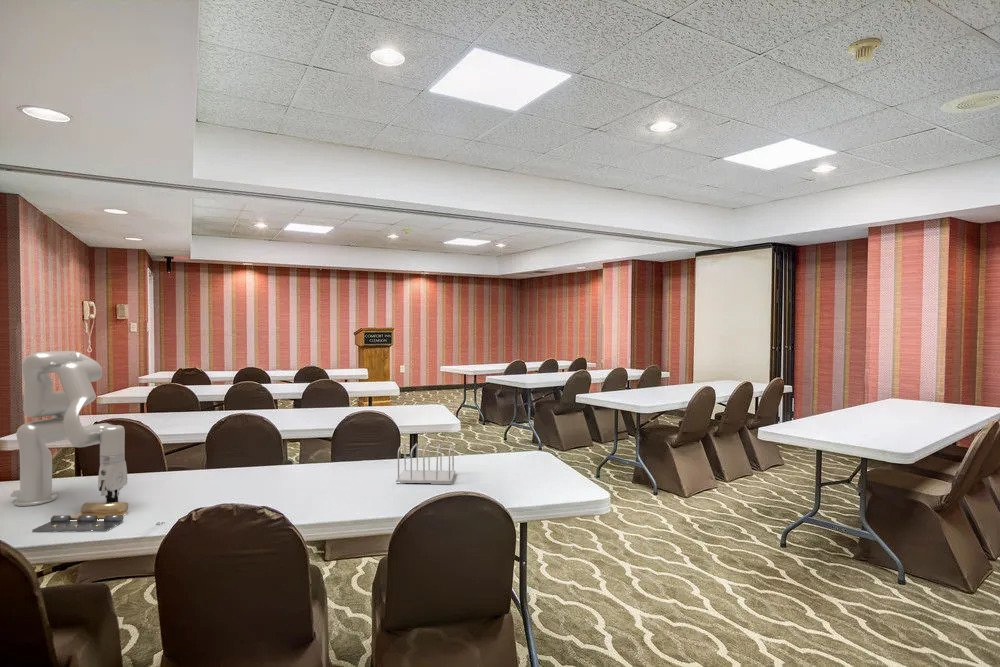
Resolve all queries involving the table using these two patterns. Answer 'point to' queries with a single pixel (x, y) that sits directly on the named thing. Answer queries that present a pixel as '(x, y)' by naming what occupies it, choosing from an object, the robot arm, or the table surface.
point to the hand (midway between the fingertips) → (112, 507)
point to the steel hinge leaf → (79, 523)
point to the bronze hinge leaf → (102, 509)
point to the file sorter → (423, 475)
